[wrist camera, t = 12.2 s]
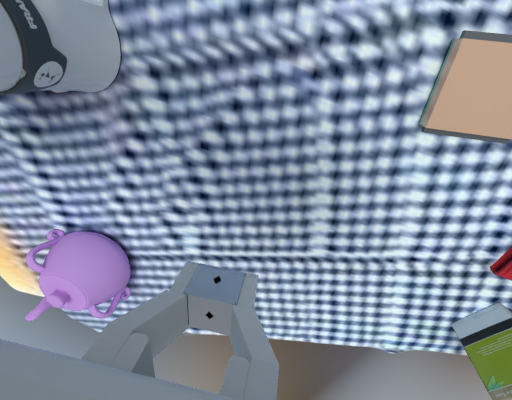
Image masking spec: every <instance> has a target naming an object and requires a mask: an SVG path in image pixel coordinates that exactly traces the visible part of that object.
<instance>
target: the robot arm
mask: <svg viewBox="0 0 512 400" xmlns="http://www.w3.org/2000/svg"><path fill="white" fill-rule="evenodd" d="M120 57H121V53H120V43H119V38H118V34H117V31H116V28H115V25H114V23H113V21H112V18H111V15H110V12H109V8H108V0H0V95H15V94H20V93H29V92H35V91H38V90H52V91H53V92H56V93H63V92H68V91H71V90H73V91H82V92H98V91H101V90H103V89H105V88H107V87H108V86H109V85H110V84H111V83H112V82H113V81H114V79H115V77H116V75H117V73H118V70H119V66H120ZM257 283H258V275H254V274H249V273H244V272H239V271H234V270H228V269H222V268H218V267H213V266H209V265H205V264H199V263H195V262H191V261H188V262H187V263H186V264H185V265H184V267H183V269H182V270H181V272H180V274H179V276H178V277H177V279H176V281H175V282H174V284H173V286H172V287H171V289H170V291H167V290H165V291H164V292H162V293H160V294H159V295H157V296H155V297H153V298H152V299H150V300H148V301H147V302H145V303H143V304H141V305H140V306H138V307H136V308H135V309H133V310H131V311H129V312H128V313H126V314H124V315H123V316H121V317H119V318H117V319H116V320H114V321H112V322H111V323H109V324H107V326H106V327H105V328H104V330H103V331H102V332H101V334H100V335H99V337H98V338H97V339H96V340H95V342H94V343H93V344H92V346H91V347H90V348H89V350H88V351H87V352H86V354H85V355H84V356H83V358H82V359H78V358H74V357H70V356H66V355H61V354H58V353H54V352H50V351H46V350H42V349H38V348H34V347H30V346H26V345H22V344H18V343H14V342H10V341H6V340H2V339H0V400H276V394H277V384H278V372H279V364H278V361H277V359H276V357H275V355H274V352H273V350H272V348H271V345H270V343H269V341H268V339H267V336H266V334H265V332H264V329H263V327H262V325H261V323H260V320H259V318H258V316H257V313H256V311H255V309H254V303H255V297H256V290H257ZM188 326H189V327H194V328H199V329H204V330H209V331H213V332H217V333H221V334H225V335H229V336H230V340H231V343H232V347H233V351H234V355H235V356H232V357H231V358H229V361H228V364H227V368H226V372H225V375H224V379H223V383H222V386H221V390H220V393H219V394H216V393H212V392H209V391H204V390H201V389H197V388H193V387H189V386H185V385H181V384H177V383H173V382H169V381H165V380H161V379H157V378H155V372H154V366H153V360H152V359H153V358H154V357H155V356H156V355H157V354H159V353H160V352H161V351H162V350H163V349H164V348H166V346H168V345H169V344H170V343H171V342H172V341H173V340H175V339H176V338H177V337H178V336H179V335H180V334H182V333H183V332H184V331H185V330H186V329H187V328H188Z"/></svg>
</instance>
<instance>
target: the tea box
mask: <svg viewBox="0 0 512 400" xmlns="http://www.w3.org/2000/svg"><path fill="white" fill-rule="evenodd" d="M451 325H452V327H453V329H454V331H455V333H456V334H457V336H458V338H459V340H460V341H461V343H462V345H463V347H464V349H465V351H466V352H467V354H468V356H469V358H470V359H471V361H472V363H473V365H474V367H475V369H476V370H477V372H478V374H479V376H480V378H481V379H482V382H483V383H484V385H485V387H486V389H487V391H488V393H489V394H490V396H491V398H492V400H512V312H511V311H509V310H508V309H507V308H506V307H505V306H504V305H503V304H501V303H499V302H498V303H496V304H494V305H491V306H489V307H487V308H484V309H482V310H480V311H478V312H475V313H473V314H471V315H469V316H466V317H464V318H462V319H460V320H458V321H455V322H454V323H452V324H451Z"/></svg>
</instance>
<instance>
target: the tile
mask: <svg viewBox="0 0 512 400" xmlns="http://www.w3.org/2000/svg"><path fill="white" fill-rule="evenodd" d="M419 124H420V125H422V126H424V127H425V128H431V129H438V130H446V131H453V132H460V133H468V134H475V135H483V136H490V137H498V138H505V139H512V43H506V42H496V41H486V40H476V39H466V38H461V39H453V40H452V43H451V45H450V48H449V50H448V53H447V55H446V58H445V60H444V63H443V65H442V68H441V70H440V73H439V75H438V78H437V80H436V83H435V85H434V88H433V90H432V93H431V95H430V97H429V100H428V102H427V105H426V107H425V110H424V112H423V115H422V117H421V120H420V122H419Z"/></svg>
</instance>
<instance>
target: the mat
mask: <svg viewBox="0 0 512 400" xmlns="http://www.w3.org/2000/svg"><path fill="white" fill-rule="evenodd" d="M461 38H466V39H476V40H486V41H496V42H506V43H512V35H506V34H495V33H485V32H475V31H463V32H462V35H461V37H460V39H461ZM422 132H427V133H434V134H441V135H449V136H456V137H463V138H470V139H478V140H485V141H492V142H500V143H507V144H508V142H509V140H510V139H505V138H498V137H490V136H483V135H475V134H468V133H460V132H453V131H446V130H438V129H431V128H425V127H424V126H423V129H422Z"/></svg>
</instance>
